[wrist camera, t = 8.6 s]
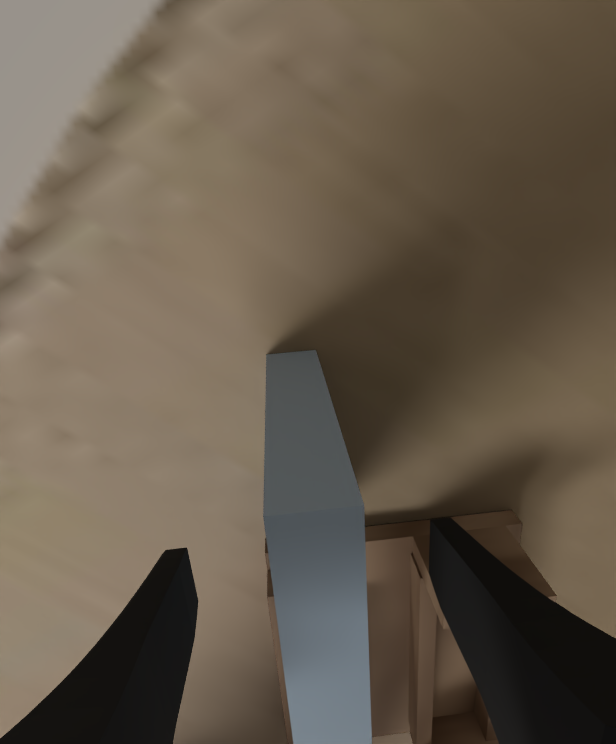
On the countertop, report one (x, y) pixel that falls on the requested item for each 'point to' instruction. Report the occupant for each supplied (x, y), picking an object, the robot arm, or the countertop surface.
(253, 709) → the countertop surface
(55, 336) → the countertop surface
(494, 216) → the countertop surface
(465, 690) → the tray
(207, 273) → the countertop surface
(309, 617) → the board
